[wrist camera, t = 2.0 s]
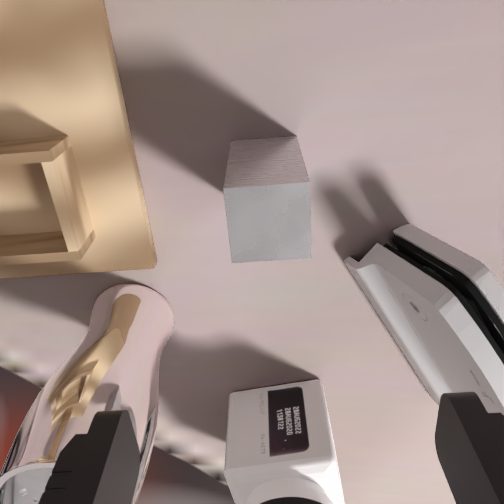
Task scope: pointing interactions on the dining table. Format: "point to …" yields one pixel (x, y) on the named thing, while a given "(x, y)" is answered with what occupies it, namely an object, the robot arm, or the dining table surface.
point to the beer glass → (95, 389)
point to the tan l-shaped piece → (66, 146)
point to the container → (281, 446)
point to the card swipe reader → (439, 313)
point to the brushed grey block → (267, 200)
